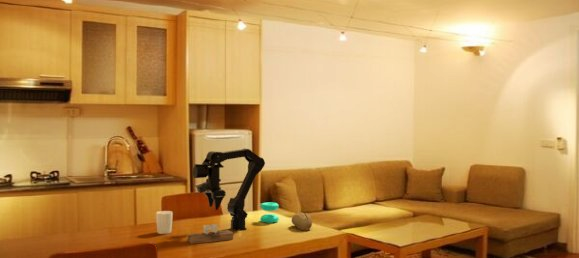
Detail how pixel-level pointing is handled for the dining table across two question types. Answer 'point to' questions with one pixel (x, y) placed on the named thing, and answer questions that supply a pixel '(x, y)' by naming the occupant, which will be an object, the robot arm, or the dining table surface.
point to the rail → (210, 237)
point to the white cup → (164, 222)
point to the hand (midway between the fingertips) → (213, 208)
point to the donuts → (269, 217)
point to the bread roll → (302, 221)
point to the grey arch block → (210, 228)
